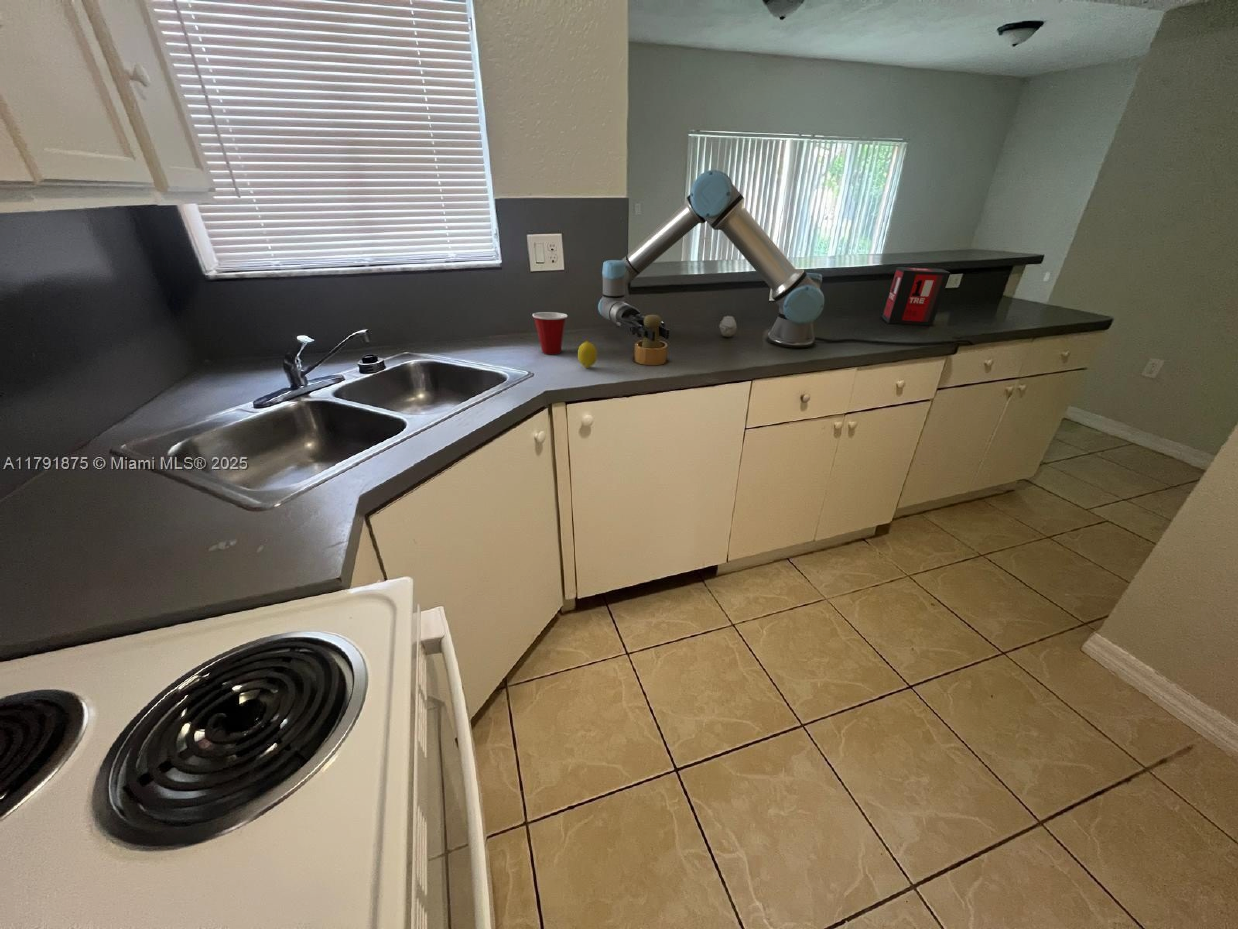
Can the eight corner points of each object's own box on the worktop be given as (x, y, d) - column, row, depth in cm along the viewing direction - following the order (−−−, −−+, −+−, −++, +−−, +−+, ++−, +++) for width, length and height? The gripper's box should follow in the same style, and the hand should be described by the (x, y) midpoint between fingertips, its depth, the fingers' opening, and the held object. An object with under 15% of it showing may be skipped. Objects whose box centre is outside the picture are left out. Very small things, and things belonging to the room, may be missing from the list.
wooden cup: (667, 356, 154) (669, 340, 151) (664, 366, 146) (665, 350, 143) (637, 353, 155) (638, 338, 153) (632, 363, 147) (632, 347, 145)
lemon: (582, 372, 140) (582, 345, 136) (575, 366, 144) (574, 339, 140) (600, 369, 142) (600, 342, 138) (592, 363, 146) (591, 337, 142)
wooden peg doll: (660, 349, 152) (663, 313, 146) (660, 355, 146) (662, 318, 141) (641, 348, 152) (643, 312, 146) (640, 354, 147) (642, 317, 141)
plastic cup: (574, 348, 159) (573, 311, 153) (560, 358, 150) (558, 319, 144) (544, 344, 162) (542, 308, 155) (528, 354, 153) (525, 315, 147)
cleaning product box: (924, 320, 201) (941, 268, 191) (932, 325, 194) (950, 272, 183) (881, 317, 203) (896, 266, 193) (888, 323, 196) (904, 270, 186)
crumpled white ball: (732, 333, 178) (735, 314, 174) (737, 339, 172) (740, 319, 168) (716, 333, 178) (718, 314, 174) (720, 339, 172) (723, 319, 168)
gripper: (647, 325, 165) (684, 344, 147) (601, 330, 158) (634, 351, 140) (649, 302, 161) (686, 319, 143) (601, 306, 155) (635, 325, 137)
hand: (660, 335), depth 142 cm, fingers closed on wooden peg doll, 4 cm apart
